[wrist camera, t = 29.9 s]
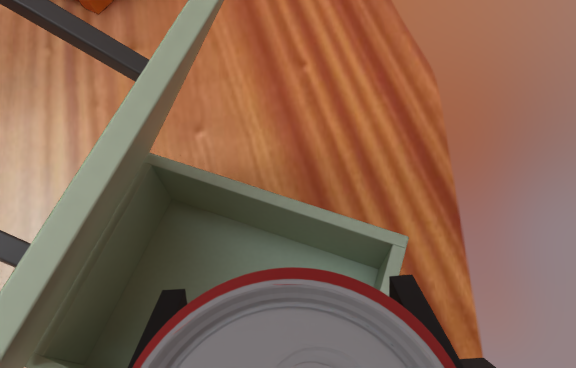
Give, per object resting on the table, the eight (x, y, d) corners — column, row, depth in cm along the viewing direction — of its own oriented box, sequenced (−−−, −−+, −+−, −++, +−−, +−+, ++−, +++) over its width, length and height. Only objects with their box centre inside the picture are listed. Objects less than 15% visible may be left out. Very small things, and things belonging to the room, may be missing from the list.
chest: (390, 266, 37) (409, 236, 30) (330, 486, 30) (338, 505, 24) (170, 191, 40) (146, 151, 34) (72, 374, 33) (21, 365, 27)
